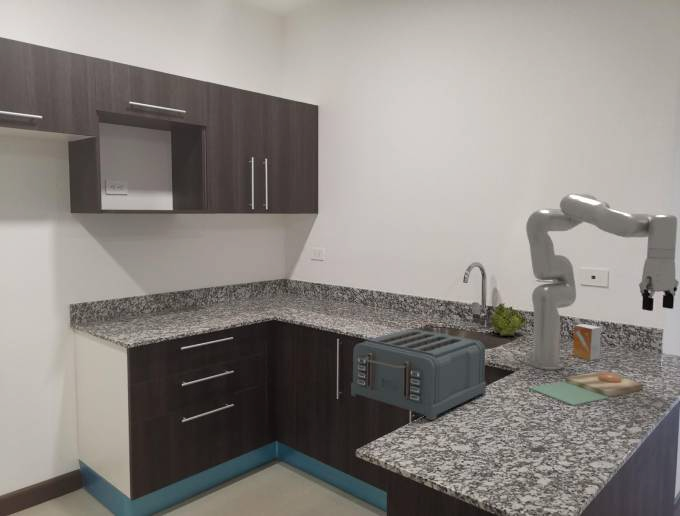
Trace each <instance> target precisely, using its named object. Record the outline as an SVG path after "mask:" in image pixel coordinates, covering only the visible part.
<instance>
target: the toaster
mask: <svg viewBox="0 0 680 516" xmlns="http://www.w3.org/2000/svg"><path fill="white" fill-rule="evenodd" d="M352 351H353V352H352V353H353V355H352V360H353V364H352V366H353V368H352V382H351V383H350V395H351V396H353V397H358V396H362V397H365V398H367V399H368V398H369V399H372V400H375V401H377V402H381V403H385V404H388V405H391V406H395V407H398V408H401V409H404V410H408V411H411V412H413V413H417V414H421V415H424V416H425V419H426V420H429V421H435V420H436V419H437V417H438V416H437V415H440V414H441V413H444V412H446V411H448V410H450V409H452V408H455V407H456V406H458V405H461V404H463V403H464V402H466V401H469V400H470V399H473V398H475V397H477V396H479V395H480V396H485V395H486V394H487V393H486V392H487V381H485V371H486V370H485V369H486V366H485V365H486V347H485V345H484V343H482V341H480V340H477V339H473V338H467V337H461V336H456V335H450V334H445V333H439V332H434V331H427V330H423V329H418V328H415V329H412V328H411V329H410V328H408V329H406V330H405V329H404V330H401V331H397V332H394V333H389V334H384V335H380V336H376V337H373V338H369V339H366V340H365V341H362V342H360V343H357V344H355V346H354V347H353V350H352Z"/></svg>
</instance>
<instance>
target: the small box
mask: <svg viewBox="0 0 680 516" xmlns="http://www.w3.org/2000/svg"><path fill="white" fill-rule="evenodd" d="M573 329H574V330H573V348H572V356H573V357H576V356H577V358H580V359H584V360H587V359H588V360H587V361H593V360H599V359H600V355H601V354H600V353H601V335H602V334H601V333H602V326H597V325H593V324H586V323H581V324H574V328H573ZM598 358H599V359H598Z"/></svg>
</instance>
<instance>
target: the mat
mask: <svg viewBox="0 0 680 516" xmlns="http://www.w3.org/2000/svg"><path fill="white" fill-rule="evenodd" d="M528 390H531V391H534V392H535V393H536V392H537V393H539V394H542V395H544V396H547V397H549V398H551V399H554V400H557V401H560V402H562V403H564V404H565V403H566V404H568V405H570V406H572V407H575V406H580V405H583V404H589V403H593V402H598V401H604V400H608V399H610V397H607V396H604V395H601V394H598V393H595V392H592V391H589V390H587V389H584V388H581V387H578V386H575V385H572V384H569V383H566V382H565V381H558V382H557V381H556V382H552V383H546V384H541V385H534V386H529V387H528Z"/></svg>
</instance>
